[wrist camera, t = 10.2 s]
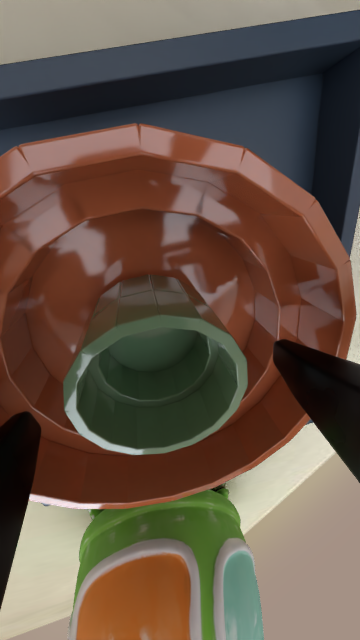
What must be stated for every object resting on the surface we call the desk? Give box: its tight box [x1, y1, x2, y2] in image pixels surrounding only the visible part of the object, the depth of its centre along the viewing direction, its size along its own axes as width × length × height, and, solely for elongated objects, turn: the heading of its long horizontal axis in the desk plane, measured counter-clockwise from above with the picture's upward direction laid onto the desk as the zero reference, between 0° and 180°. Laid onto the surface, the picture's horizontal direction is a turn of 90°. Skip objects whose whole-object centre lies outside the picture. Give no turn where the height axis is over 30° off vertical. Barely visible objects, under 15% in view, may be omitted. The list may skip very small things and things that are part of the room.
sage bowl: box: [63, 274, 248, 455], centre depth 9 cm, size 6×6×4 cm
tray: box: [0, 10, 360, 506], centre depth 11 cm, size 18×18×2 cm
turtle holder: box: [68, 488, 264, 640], centre depth 16 cm, size 12×18×12 cm
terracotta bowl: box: [0, 123, 357, 509], centre depth 10 cm, size 14×14×5 cm
